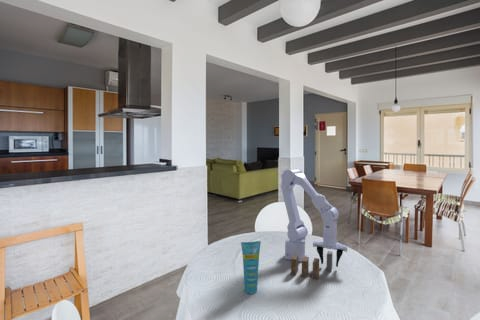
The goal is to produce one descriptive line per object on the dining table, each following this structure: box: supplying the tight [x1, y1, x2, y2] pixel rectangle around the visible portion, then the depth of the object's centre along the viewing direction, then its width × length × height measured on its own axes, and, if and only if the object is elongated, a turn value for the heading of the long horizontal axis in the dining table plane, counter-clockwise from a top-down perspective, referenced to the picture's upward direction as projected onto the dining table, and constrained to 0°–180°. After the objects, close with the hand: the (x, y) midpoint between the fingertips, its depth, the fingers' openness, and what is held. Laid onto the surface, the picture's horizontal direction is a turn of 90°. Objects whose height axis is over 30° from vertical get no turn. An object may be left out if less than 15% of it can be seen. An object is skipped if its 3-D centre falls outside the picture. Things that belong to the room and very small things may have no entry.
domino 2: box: [301, 255, 310, 279], centre depth 109 cm, size 2×5×7 cm, turn 155°
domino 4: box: [326, 250, 334, 272], centre depth 114 cm, size 2×5×7 cm, turn 155°
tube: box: [240, 240, 261, 295], centre depth 96 cm, size 7×5×19 cm, turn 103°
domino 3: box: [312, 257, 320, 281], centre depth 107 cm, size 2×5×7 cm, turn 155°
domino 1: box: [290, 254, 299, 276], centre depth 111 cm, size 2×5×7 cm, turn 155°
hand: (329, 264), depth 114 cm, fingers open, 6 cm apart
